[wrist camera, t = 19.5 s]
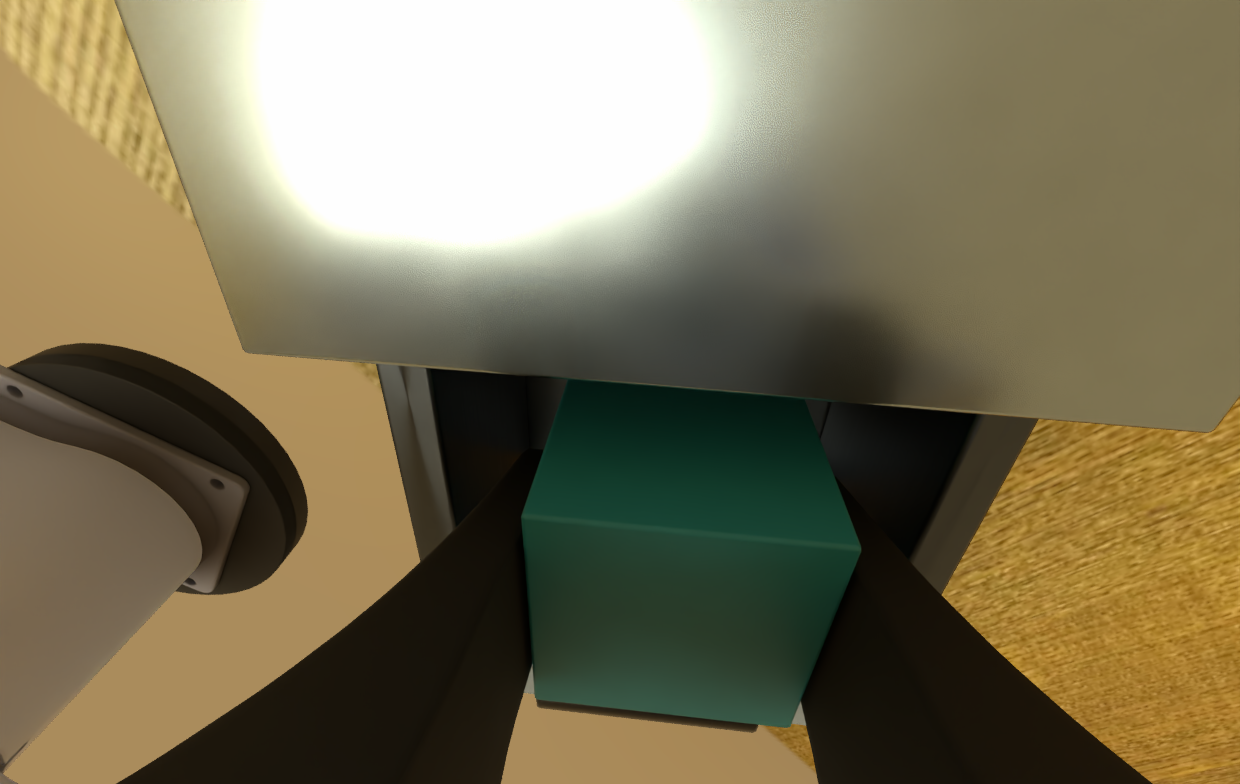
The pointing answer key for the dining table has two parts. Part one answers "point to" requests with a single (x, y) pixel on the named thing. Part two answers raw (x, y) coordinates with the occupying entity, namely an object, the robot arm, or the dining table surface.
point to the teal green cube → (683, 553)
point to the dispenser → (728, 193)
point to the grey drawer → (850, 433)
